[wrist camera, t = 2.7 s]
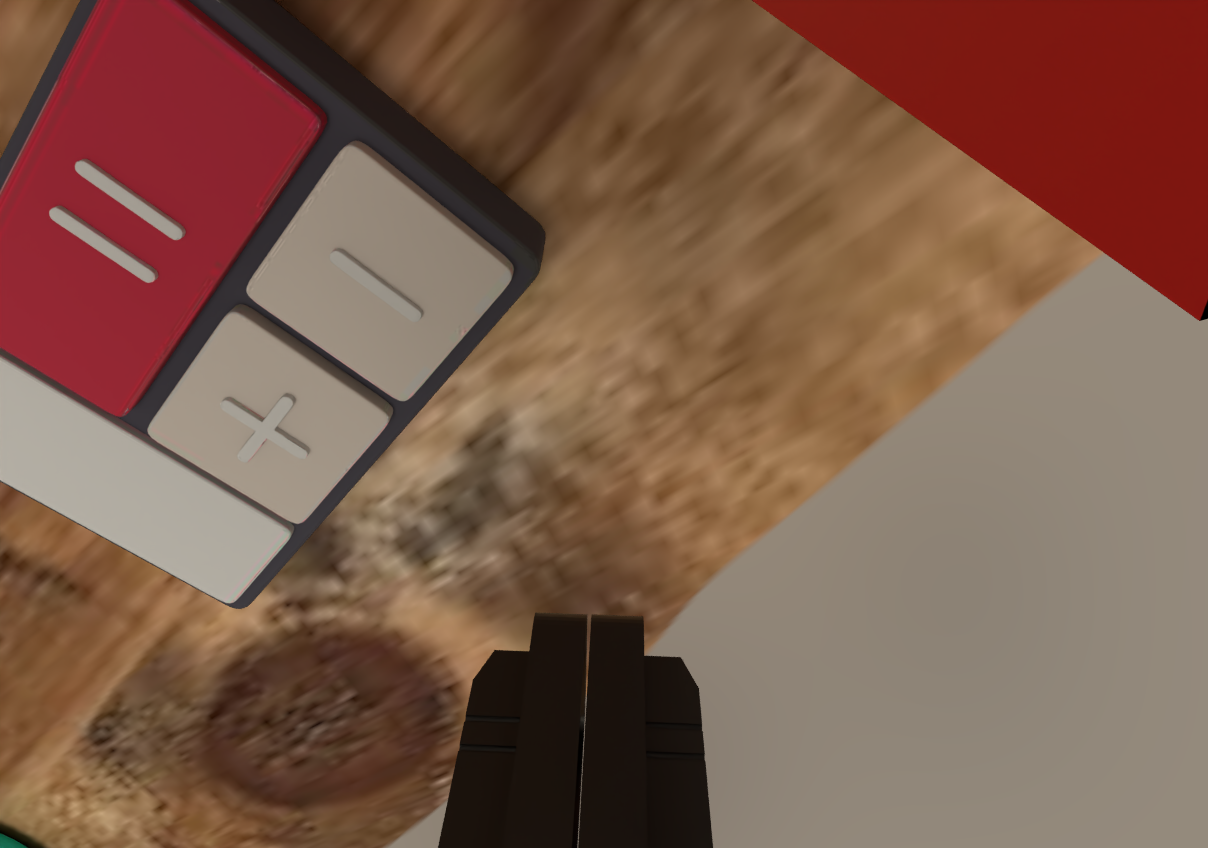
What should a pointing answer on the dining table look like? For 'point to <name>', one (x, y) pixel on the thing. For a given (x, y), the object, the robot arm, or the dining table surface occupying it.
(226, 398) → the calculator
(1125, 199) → the book
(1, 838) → the donuts
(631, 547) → the dining table surface
